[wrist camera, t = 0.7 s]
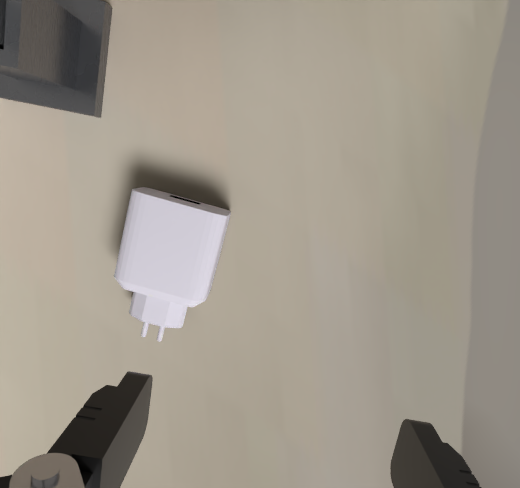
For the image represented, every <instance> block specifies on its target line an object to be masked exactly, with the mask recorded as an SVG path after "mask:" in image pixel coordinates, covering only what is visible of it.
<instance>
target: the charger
mask: <svg viewBox="0 0 520 488" xmlns="http://www.w3.org/2000/svg"><path fill="white" fill-rule="evenodd" d="M170 195H173V194H170V193H166V192H162V191H159V190H155V189H151V188H147V187H140V188H135V189H132V192H131V197H130V202H129V207H128V211H127V216H126V221H125V226H124V231H123V236H122V240H121V245H120V250H119V255H118V260H117V265H116V270H115V274H114V277H115V278H116V280H117V281H118V283H119V284H120V285H121V287H122V288H123V289H126V290H129V291H132V292H133V297H132V301H131V306H130V310H129V313H130V315H131V316H133V317H135V318H137V319H138V320H140V321H143V322H144V324H143V328H142V332H141V336H142V337H145V336H146V334H147V329H148V325H149V323H150V324H154V325H157V326H160V328H159V332H158V336H157V341H162V337H163V333H164V329H165V327H168V328H181V327H182V326H183V322H184V318H185V314H186V310H187V306H188V307H194V306H196V305H198V304H200V303H202V302H204V301H206V299H207V297H208V295H209V293H210V291H211V287H212V283H213V279H214V275H215V272H216V268H217V264H218V260H219V256H220V253H221V249H222V245H223V241H224V237H225V234H226V230H227V226H228V222H229V218H230V215H231V211H229V210H226V209H223V208H220V207H216V206H212V205H209V204H205V203H202V202H198V201H195V200H191V199H188V200H191V201H195V202H198V203H201V204H199V205H198V204H195V203H191V202H188V201H184V200H180V199H177V198H173V197H170ZM173 196H177V195H173ZM177 197H180V196H177ZM181 198H184V197H181ZM184 199H187V198H184Z"/></svg>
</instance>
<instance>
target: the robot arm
mask: <svg viewBox="0 0 520 488" xmlns="http://www.w3.org/2000/svg"><path fill="white" fill-rule="evenodd" d="M151 388H152V375H147V374H141V373H135V372H127V373H126V375H125V376H124V378H123V379H122V381H121V382H120V384H119V385H118V386H117V387H116V386H110V385H106V386H104V387H103V388H101V389H100V390H98V391H96V392H95V393H93V394H92V395H91V397H90V398H89V399H88V400H87V402H86V403H85V404H84V406H83V408H81V410H80V411H79V412H78V413H77V415H76V417H75V418H74V419H73V420H72V421H71V423H70V424H69V425H68V426H67V428H66V429H65V430H64V432H63V433H62V434H61V436H60V437H59V438H58V439H57V441H56V442H55V443H54V445H53V446H52V447H51V449H50V450H49V451H48V453H47V454H43V455H39V456H36V457H34V458H32V459H30V460H28V461H26V462H25V463H23V464H22V465H21V466H20V467H19V468H18V469H17V470H16V471H15V472H14V473H13V475H10V476H5V477H0V488H120V486H121V484H122V482H123V480H124V477H125V475H126V473H127V471H128V469H129V467H130V465H131V462H132V460H133V458H134V456H135V454H136V452H137V450H138V448H139V445H140V443H141V441H142V439H143V436H144V433H145V430H146V426H147V421H148V414H149V406H150V397H151ZM391 479H392V483H393V486H394V488H481V487H479V483H478V481H477V480H476V478H475V477H474V475H472V474H471V470H470V468H469V467H468V465H467V464H466V462H465V460H464V459H463V457H462V456H461V455H460V454H459V453H457V452H456V451H455V450H454V449H453V448H452V447H451V446H450V445H449V444H448V443H443V442H442V441H441V439H440V437H439V435H438V434H437V432H436V430H435V429H434V427H433V426H432V424H430V423H427V422H421V421H415V420H409V419H405V420H404V421H403V422H402V425H401V428H400V432H399V435H398V439H397V442H396V446H395V449H394V453H393V456H392V460H391Z"/></svg>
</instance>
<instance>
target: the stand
mask: <svg viewBox="0 0 520 488" xmlns="http://www.w3.org/2000/svg"><path fill="white" fill-rule="evenodd" d="M111 15H112V7H111V6H109V5H108V4H107V3H106V2H105V1H100V0H6V15H5V34H4V50H3V49H0V98H3V99H8V100H13V101H19V102H24V103H29V104H34V105H39V106H44V107H49V108H54V109H59V110H64V111H69V112H74V113H79V114H84V115H89V116H94V117H99V118H101V111H102V102H103V92H104V82H105V73H106V63H107V53H108V44H109V34H110V25H111Z"/></svg>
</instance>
